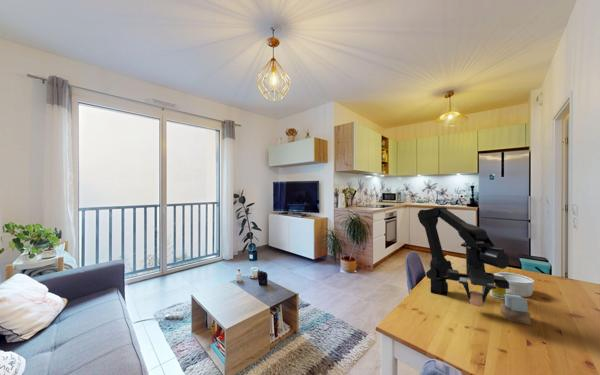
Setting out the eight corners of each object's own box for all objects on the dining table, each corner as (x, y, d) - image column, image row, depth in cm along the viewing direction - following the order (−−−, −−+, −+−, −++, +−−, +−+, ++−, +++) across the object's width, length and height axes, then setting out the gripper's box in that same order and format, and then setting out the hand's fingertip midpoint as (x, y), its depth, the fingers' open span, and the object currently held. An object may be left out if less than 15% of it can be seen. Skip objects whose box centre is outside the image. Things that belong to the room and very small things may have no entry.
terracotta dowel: (470, 304, 86) (470, 294, 86) (469, 300, 90) (468, 290, 90) (483, 307, 84) (483, 296, 84) (481, 302, 88) (481, 292, 88)
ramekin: (503, 295, 101) (502, 280, 101) (490, 284, 113) (490, 270, 113) (541, 300, 96) (541, 284, 96) (524, 288, 108) (524, 274, 108)
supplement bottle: (509, 300, 97) (508, 277, 97) (494, 299, 98) (494, 276, 98) (500, 294, 102) (500, 273, 102) (487, 293, 103) (486, 272, 103)
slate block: (511, 310, 81) (511, 299, 81) (505, 304, 85) (504, 294, 86) (527, 312, 80) (527, 301, 80) (519, 306, 84) (519, 295, 84)
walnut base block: (509, 321, 81) (509, 310, 81) (500, 313, 87) (500, 302, 87) (530, 324, 79) (530, 313, 79) (520, 316, 85) (520, 305, 85)
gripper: (448, 262, 85) (449, 303, 85) (513, 270, 76) (515, 316, 75) (446, 255, 95) (447, 291, 94) (504, 261, 85) (505, 302, 85)
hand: (476, 300), depth 87 cm, fingers closed on terracotta dowel, 4 cm apart
